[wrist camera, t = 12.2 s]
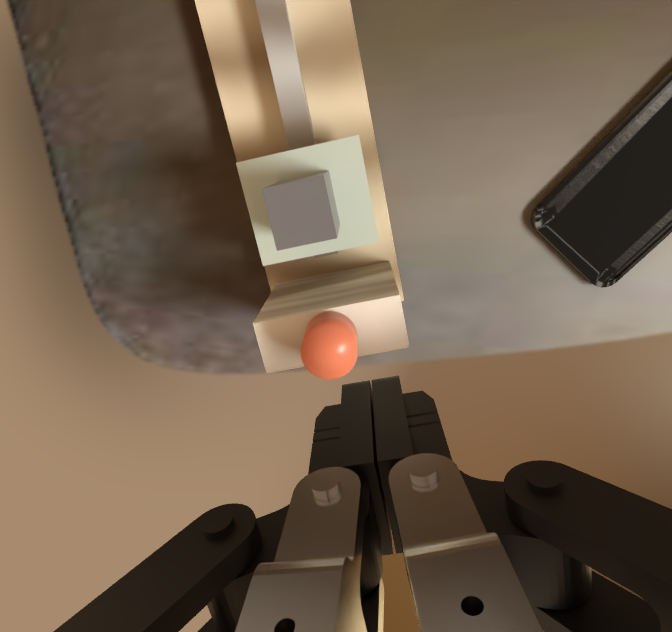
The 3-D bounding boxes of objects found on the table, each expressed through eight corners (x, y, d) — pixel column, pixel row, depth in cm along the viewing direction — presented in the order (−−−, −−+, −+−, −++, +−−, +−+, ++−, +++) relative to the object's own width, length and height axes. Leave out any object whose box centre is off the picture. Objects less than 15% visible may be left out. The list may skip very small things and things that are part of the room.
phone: (527, 220, 34) (717, 30, 30) (522, 217, 35) (705, 34, 31) (604, 295, 35) (795, 122, 31) (597, 290, 36) (781, 123, 32)
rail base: (196, -15, 31) (125, -88, 21) (339, -53, 30) (332, -147, 21) (282, 318, 38) (258, 374, 28) (402, 294, 37) (418, 345, 27)
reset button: (299, 316, 27) (294, 332, 24) (351, 306, 26) (350, 321, 24) (311, 364, 28) (307, 383, 25) (361, 354, 27) (362, 373, 25)
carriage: (246, 161, 31) (211, 165, 23) (358, 136, 30) (359, 131, 23) (270, 256, 33) (245, 287, 25) (377, 233, 32) (383, 260, 24)
